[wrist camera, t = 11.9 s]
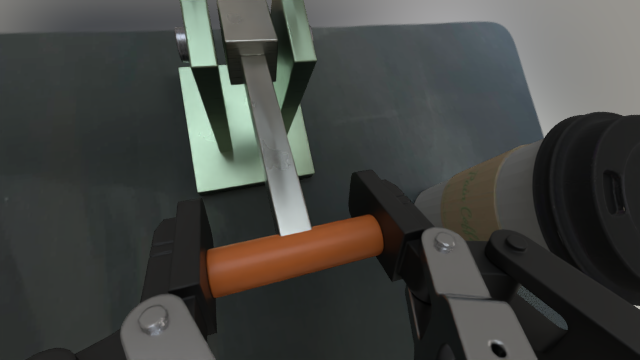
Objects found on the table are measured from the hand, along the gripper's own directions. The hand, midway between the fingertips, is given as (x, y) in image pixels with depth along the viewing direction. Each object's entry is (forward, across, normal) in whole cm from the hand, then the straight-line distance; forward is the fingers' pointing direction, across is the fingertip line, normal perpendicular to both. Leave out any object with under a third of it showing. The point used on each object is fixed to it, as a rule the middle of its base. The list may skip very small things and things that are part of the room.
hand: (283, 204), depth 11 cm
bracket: (+14, 0, +3) cm, 15 cm away
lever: (+3, 0, -1) cm, 3 cm away
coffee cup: (+7, -16, +11) cm, 21 cm away
